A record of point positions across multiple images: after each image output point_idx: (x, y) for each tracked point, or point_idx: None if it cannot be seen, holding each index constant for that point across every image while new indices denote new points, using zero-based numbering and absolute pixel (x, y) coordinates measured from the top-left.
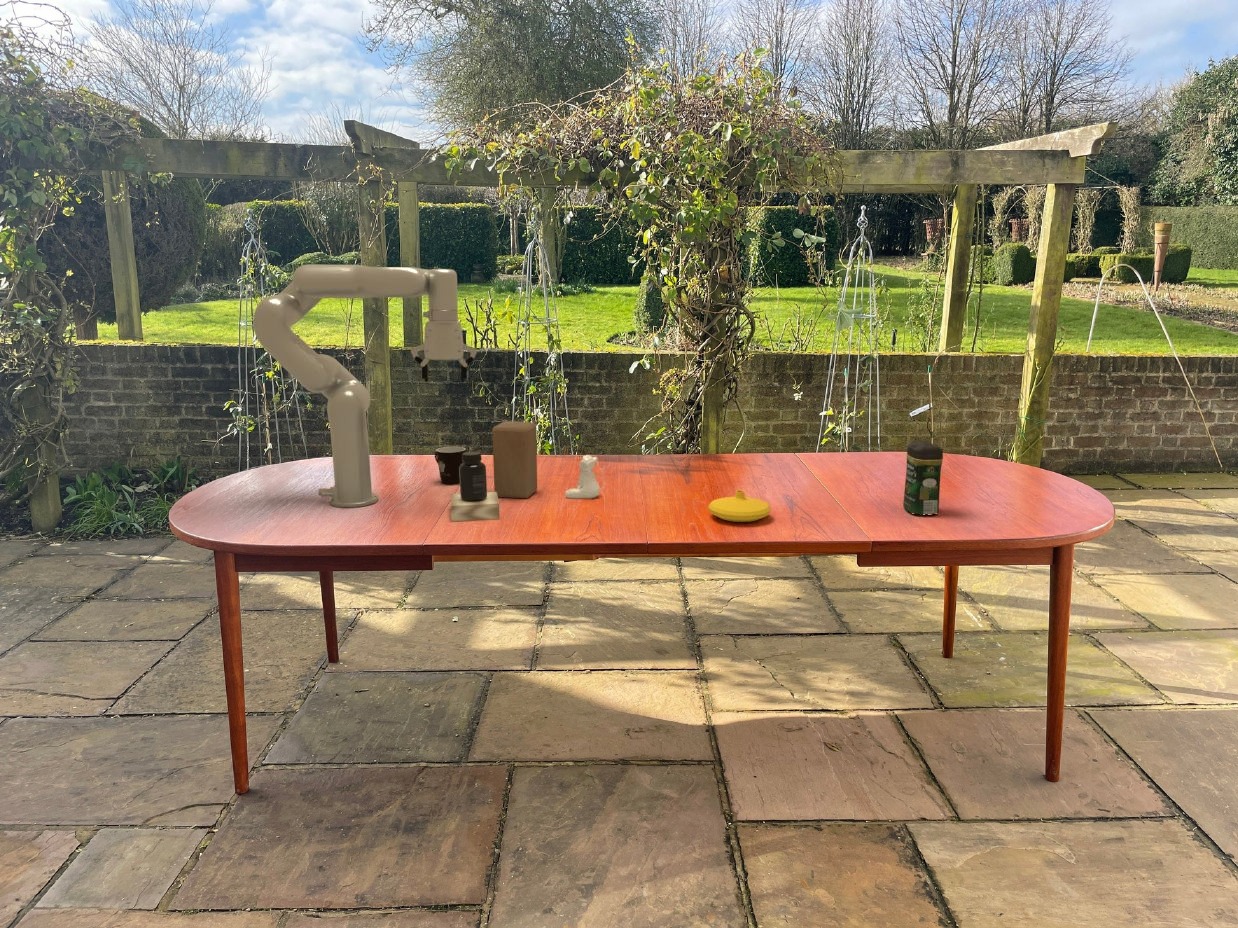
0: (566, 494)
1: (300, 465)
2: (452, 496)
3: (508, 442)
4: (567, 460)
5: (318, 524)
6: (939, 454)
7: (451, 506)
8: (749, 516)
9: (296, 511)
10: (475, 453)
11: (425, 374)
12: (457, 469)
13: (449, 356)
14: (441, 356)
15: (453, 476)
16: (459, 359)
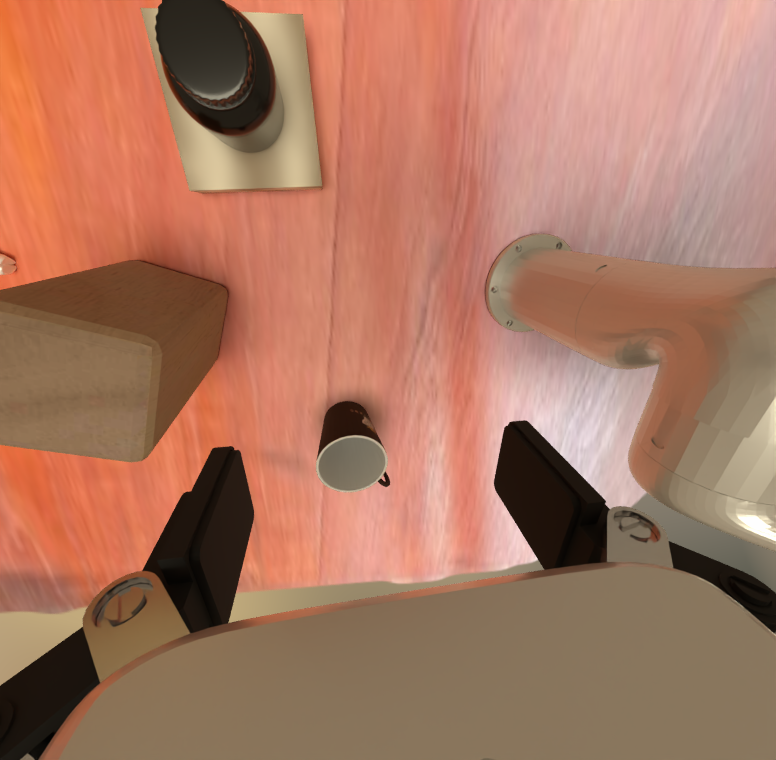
0: (2, 256)
1: None
2: (314, 153)
3: (102, 305)
4: (127, 574)
5: (609, 92)
6: None
7: (301, 15)
8: None
9: (632, 224)
10: (182, 33)
11: (549, 452)
12: (333, 420)
13: (335, 672)
14: (489, 640)
15: (341, 410)
16: (151, 652)
